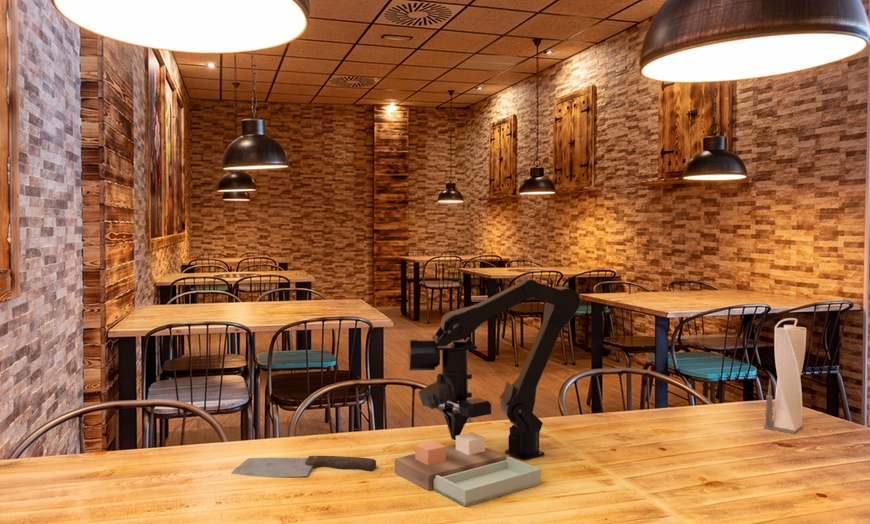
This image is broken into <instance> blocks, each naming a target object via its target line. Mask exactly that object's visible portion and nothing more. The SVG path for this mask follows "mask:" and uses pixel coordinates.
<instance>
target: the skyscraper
mask: <svg viewBox="0 0 870 524" xmlns="http://www.w3.org/2000/svg"><path fill="white" fill-rule="evenodd" d="M785 321H794V324H783V327H778V326H779V325H780V324H781V323H783V322H785ZM798 321H799V320H798V319H797V318H795V317H789V318H783V319H781V320H779V321H778V322H777V323H776V324H775V326H774V342H773V343H774V360H775V361H774V363H775V369H776V376H777V379H776V386H775V396H774V397H773V395H772V385H771V383H772V382H771V381H772V380H771V378H769V379H768V385H767V395H766V397H765V398H766V399H765V400H766V407H765V412H764V413H765V421H764V426H763V429H765V428H767V429H766V430H771V429H772V430H771V431H776V430H777V431H776V432H781V431H783V432H782V433H787V432H789V433H788V434H792V433H794V434H796V433H797V432H798V430H799V429H800V430H802V429H803V392H802V382H801V381H802V380H801V375H802V372H803V367H804V361H805V357H806V356H805V355H806V348H807V347H806V346H807V345H806V344H807V328H806V327H804V326H803V327H802V326H797V324H798ZM773 398H774V409H773ZM773 416H774V417H773ZM800 430H799V431H800ZM795 432H796V433H795Z"/></svg>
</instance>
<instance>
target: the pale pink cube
mask: <svg viewBox="0 0 870 524" xmlns="http://www.w3.org/2000/svg"><path fill="white" fill-rule="evenodd" d="M455 445H456V450H458V451H460V452H462V453H465V454H467V455H472V454H476V453H480V452H484V451H485V447H486V437H485V436H483V435H481V434H478V433H475V432H473V431H471V432H466V433H463V434H460V435H457V436H456V440H455Z"/></svg>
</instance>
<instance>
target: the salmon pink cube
mask: <svg viewBox="0 0 870 524" xmlns="http://www.w3.org/2000/svg"><path fill="white" fill-rule="evenodd" d="M414 445H415V446H414V447H415V449H414V451H415V452H414V454H415V459H416V460H418V461H420V462H422V463H424V464H427V465H431V464H435V463H439V462H443V461H446V447H447V446H446V445H443V444H442V443H440V442H436V441H435V440H431V441H425V442H422V443H416V444H414Z"/></svg>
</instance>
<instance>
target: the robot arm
mask: <svg viewBox="0 0 870 524" xmlns="http://www.w3.org/2000/svg"><path fill="white" fill-rule="evenodd" d="M531 298H533V299H535V300H539V301H542V302H544V307H543V318H542V319H543V320H542V324H541V325H540V326H539V330H538V332H537V334H536V337H535V339H534V342H533V344H532V346H531V348H530V350H529V353H528V355H527V357H526V360H525V361H524V363H523V366H522V368H521V371H520V373H519V376H518V377H517V378H516V380H515V381H513V383H511V382H509V381H507V382H506V383H505V385H504V390H503V392H502V394H501V395H499V399H500V404H499V406H500V409H501V412H502V413H503V414H504V415H505V416H506V417H507V419H509V422H510V423H511V424H512V425H511V426H510V427H509V434H508V448H507V449H505V450H504V454H507V455H510V456H513V457H515V458H518V459H520V460H522V461H523V460H524V461H525V460H529V459H533V458H537V457H541V456H544V455H545V452H544V451H541V450H540V432H541V430H542V427H543V421H541V419H540V418H539V417H538V416H536V415H535V413H533V412H534V407H535V404H536V394H537V387H538V384H539V382H540V381H541V378H542V375H543V373H544V371H545V368H546V366H547V363H548V361H549V359H550V356H551V355H552V352H553V350H554V348H555V346H556V343H557V340H559V339H558V338H559V336H560V334H561V332H562V330H563V328H564V327H565V326H566V325H567V324H568V323H570V322H571V320H572V319H573V317H574V316H575V314H576V313H577V312H578V311H579V308H580V306H581V303H582V302H581V301H582V300H581V297H580V295H579V293H578V292H577V291H576V290H574V289H573V288H569V287H564V286H555V287H552V286H549V285H546V284H543V283H540V282H538V281H537V280H535V279H531V278H523V279H521V281H519V282H518V283H516V284H514V285H512V286H510V287H508V288H506V289H504V290H502V291H500V292H498V293H496V294H494V295H492V296H490V297H488V298H486V299H484V300H482V301H480V302H479V303H476V304H474V305H473V304H472V305H471V306H466V307H460V308H459V309H455V310H452V311H448V312H447V313H445V314H444V315H443V316H441V317H442V318H441V321H440V326H439V328H438V329H437V331H436V332H435V333H434V335H433V336H432V337H431V339H418V338H410V339H409V340H408V341H409V344H408V352H407V367H408V371H414V372H415V371H435V370H436V368H438V367H439V366H440V364H441V372H439V373H438V374H437V376H436V381H435V382H432V383H430V384H429V385H427V386H425V387H423V388H422V389H421V390H418V395H419V398H420V402H421V404H422V406H423V407H427V408H429V409H431V410H433V409H434V410H435V409H436V410H437V411H439V412H440V413H441V414H442V415H443V416H444V419H445V422H446V425H447V428H448V431H449V435H450V438H451V440H454V441H456V436H457V435H461V433H462V431H463V429H464V427H465V424H466V423H467V422H468V419H469V418H470V419H474V418H478V417H483V416H488V415H492V403H491V402H490V401H489V400H486V399H483V398H479V397H475V398H472V397H473V396H472V395H473V394H472V392H470V391H469V390H468V389H469V383H468V381H469V380H472V379H473V375H472V373H469V370H468V369H469V363H468V362H469V351H470V350H472V351H473V350H477V349H478V346H477V345H476V344H475V343H474V342H472V339H471V338H470V337H469V335H471V334H473V332H475V331H476V330H477V329H478V328H479V327H480V326H481V325H482V324H483V323H484V322H486V321H487V320H490V319H492V318H494V317H496V316H498V315H499V314H502V313H503V312H505V311H508V310H509V309H511V308H513V307H515V306H517V305H519V304H520V303H523V302H524V301H527V300H529V299H531ZM464 339H465V340H464Z"/></svg>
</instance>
